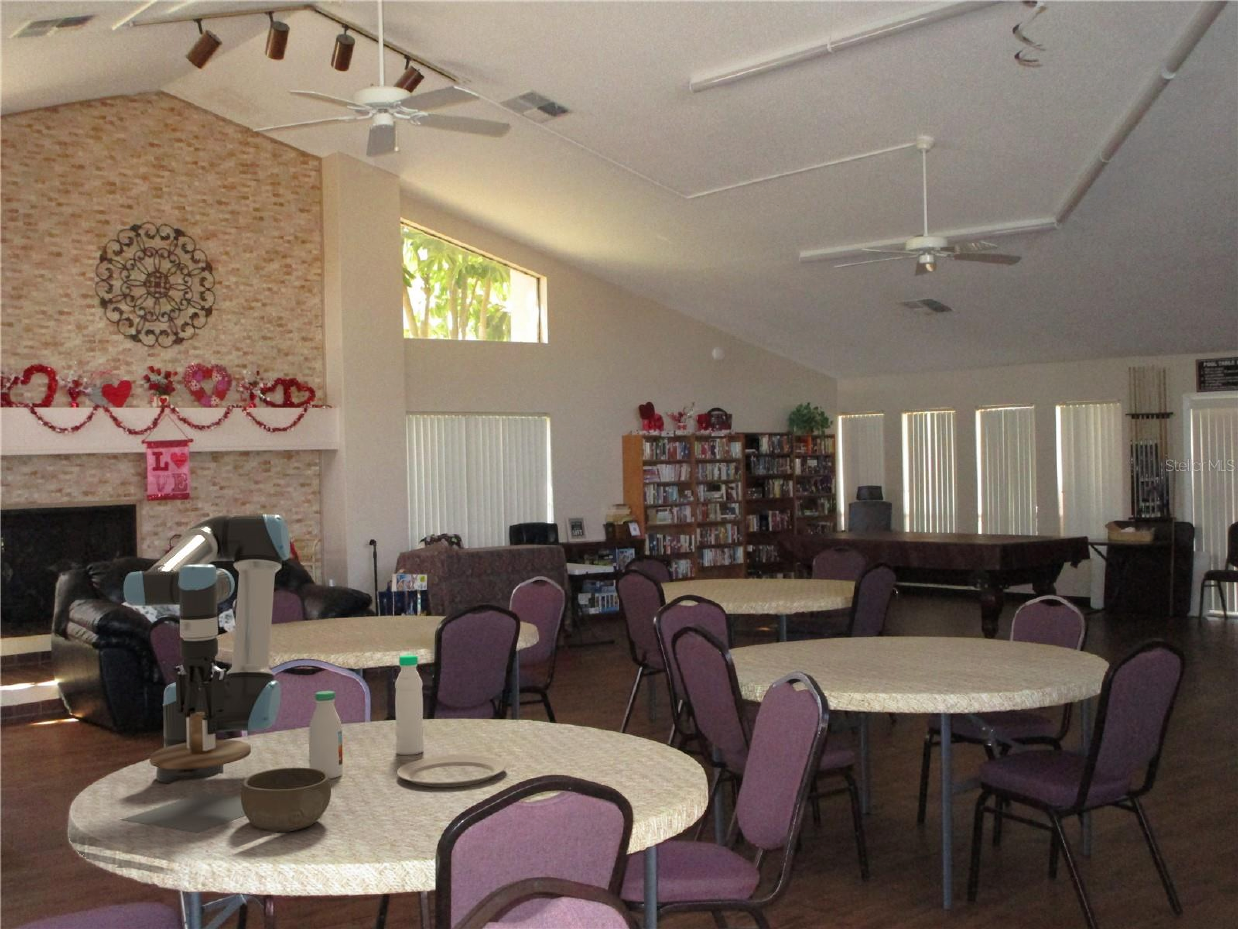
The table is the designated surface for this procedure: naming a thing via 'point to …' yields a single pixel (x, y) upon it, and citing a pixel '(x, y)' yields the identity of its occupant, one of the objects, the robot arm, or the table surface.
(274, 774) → the bowl
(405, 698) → the white plastic bottle
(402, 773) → the plate
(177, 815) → the mat
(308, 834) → the table surface
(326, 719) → the milk bottle
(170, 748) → the lid
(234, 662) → the robot arm
